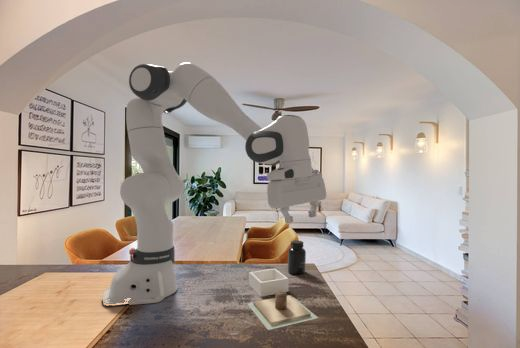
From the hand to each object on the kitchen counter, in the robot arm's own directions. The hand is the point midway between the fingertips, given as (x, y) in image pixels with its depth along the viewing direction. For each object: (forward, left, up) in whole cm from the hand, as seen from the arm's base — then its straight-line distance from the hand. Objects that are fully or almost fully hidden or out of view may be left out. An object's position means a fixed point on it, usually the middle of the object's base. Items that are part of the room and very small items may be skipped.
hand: (301, 219), depth 81 cm
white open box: (-3, +16, -26) cm, 31 cm away
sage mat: (-6, +1, -26) cm, 27 cm away
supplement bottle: (+14, +26, -26) cm, 40 cm away
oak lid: (-6, +1, -26) cm, 26 cm away
